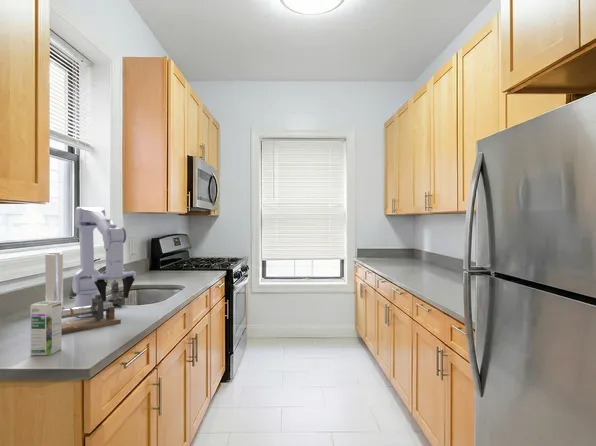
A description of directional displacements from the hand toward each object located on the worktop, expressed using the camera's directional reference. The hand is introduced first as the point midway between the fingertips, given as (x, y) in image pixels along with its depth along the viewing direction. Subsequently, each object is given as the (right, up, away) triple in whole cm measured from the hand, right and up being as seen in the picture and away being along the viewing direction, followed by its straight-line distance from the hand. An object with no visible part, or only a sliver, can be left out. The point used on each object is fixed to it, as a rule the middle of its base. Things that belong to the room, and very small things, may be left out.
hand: (114, 299), depth 137 cm
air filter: (-41, -11, +30) cm, 51 cm away
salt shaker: (-17, -10, +35) cm, 40 cm away
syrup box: (-8, -11, -26) cm, 29 cm away
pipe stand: (-13, -10, +2) cm, 16 cm away
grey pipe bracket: (-9, -8, +6) cm, 14 cm away
